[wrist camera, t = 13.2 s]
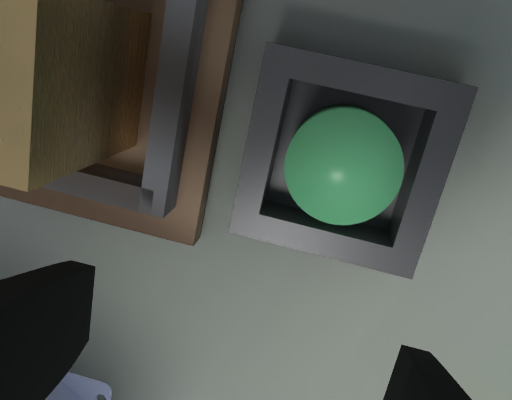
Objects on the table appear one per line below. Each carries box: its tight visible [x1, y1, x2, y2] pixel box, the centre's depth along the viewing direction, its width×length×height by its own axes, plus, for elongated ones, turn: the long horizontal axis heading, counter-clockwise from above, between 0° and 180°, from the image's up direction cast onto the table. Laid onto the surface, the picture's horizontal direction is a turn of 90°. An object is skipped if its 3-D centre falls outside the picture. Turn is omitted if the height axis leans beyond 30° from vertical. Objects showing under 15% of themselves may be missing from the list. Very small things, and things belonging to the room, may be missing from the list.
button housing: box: [228, 42, 478, 279], centre depth 18 cm, size 7×7×2 cm
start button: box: [284, 104, 404, 225], centre depth 17 cm, size 4×4×2 cm
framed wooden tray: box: [0, 0, 243, 246], centre depth 18 cm, size 12×10×2 cm
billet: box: [0, 0, 152, 192], centre depth 15 cm, size 5×4×7 cm
